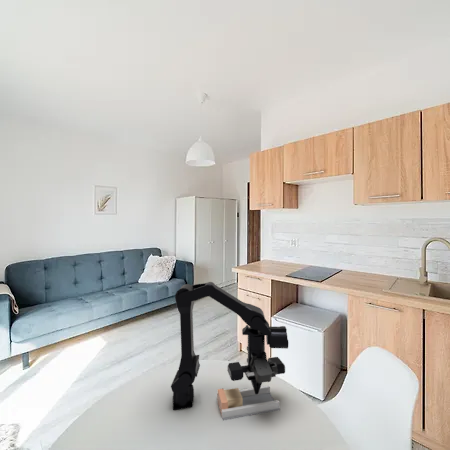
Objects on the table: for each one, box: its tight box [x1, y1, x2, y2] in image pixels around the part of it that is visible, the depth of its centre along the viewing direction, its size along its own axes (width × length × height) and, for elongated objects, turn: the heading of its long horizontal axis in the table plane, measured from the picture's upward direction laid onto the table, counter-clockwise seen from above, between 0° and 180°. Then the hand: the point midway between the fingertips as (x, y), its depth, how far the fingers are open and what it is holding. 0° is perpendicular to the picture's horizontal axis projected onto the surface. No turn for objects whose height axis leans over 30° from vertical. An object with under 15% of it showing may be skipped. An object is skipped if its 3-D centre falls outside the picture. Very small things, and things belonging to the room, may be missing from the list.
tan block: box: [224, 387, 243, 408], centre depth 79 cm, size 5×5×4 cm
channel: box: [216, 384, 281, 421], centre depth 80 cm, size 19×10×5 cm, turn 103°
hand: (256, 393), depth 81 cm, fingers closed
